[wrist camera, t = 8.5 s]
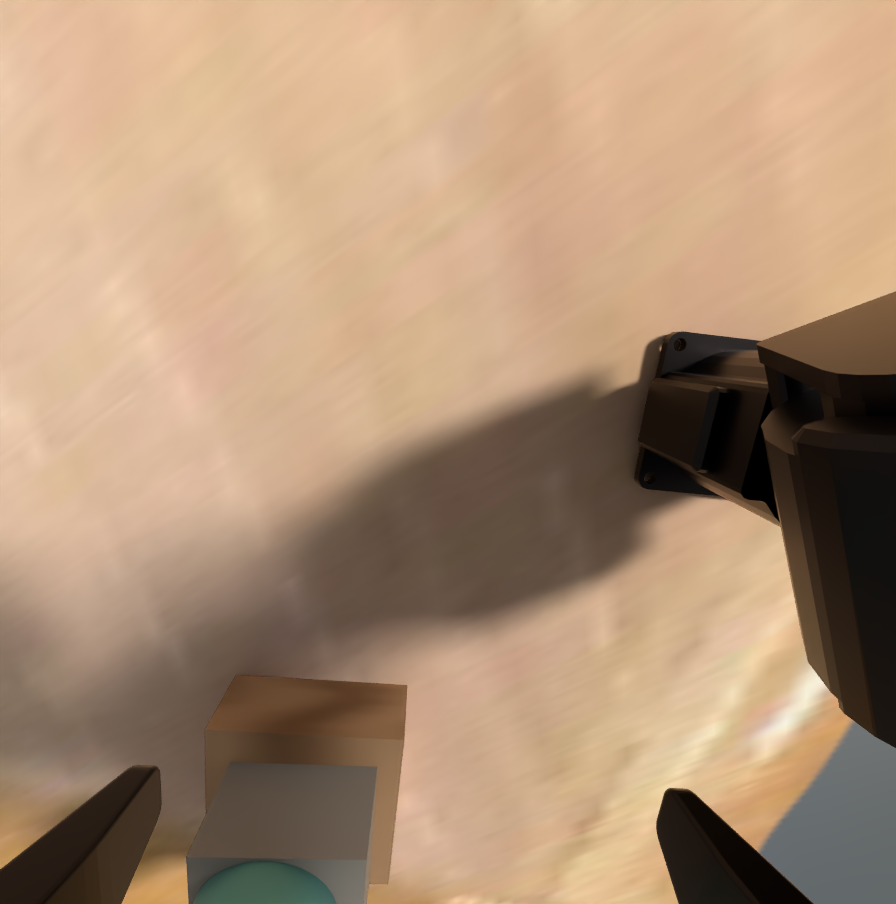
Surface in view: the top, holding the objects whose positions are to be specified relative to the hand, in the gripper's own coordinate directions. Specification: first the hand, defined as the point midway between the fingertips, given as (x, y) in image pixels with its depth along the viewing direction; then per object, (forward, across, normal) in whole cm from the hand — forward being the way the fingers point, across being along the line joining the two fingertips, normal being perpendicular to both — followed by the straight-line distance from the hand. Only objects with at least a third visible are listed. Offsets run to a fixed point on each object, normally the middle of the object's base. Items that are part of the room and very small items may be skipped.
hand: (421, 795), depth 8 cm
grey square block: (+9, +4, +13) cm, 16 cm away
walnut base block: (+12, +4, +12) cm, 18 cm away
